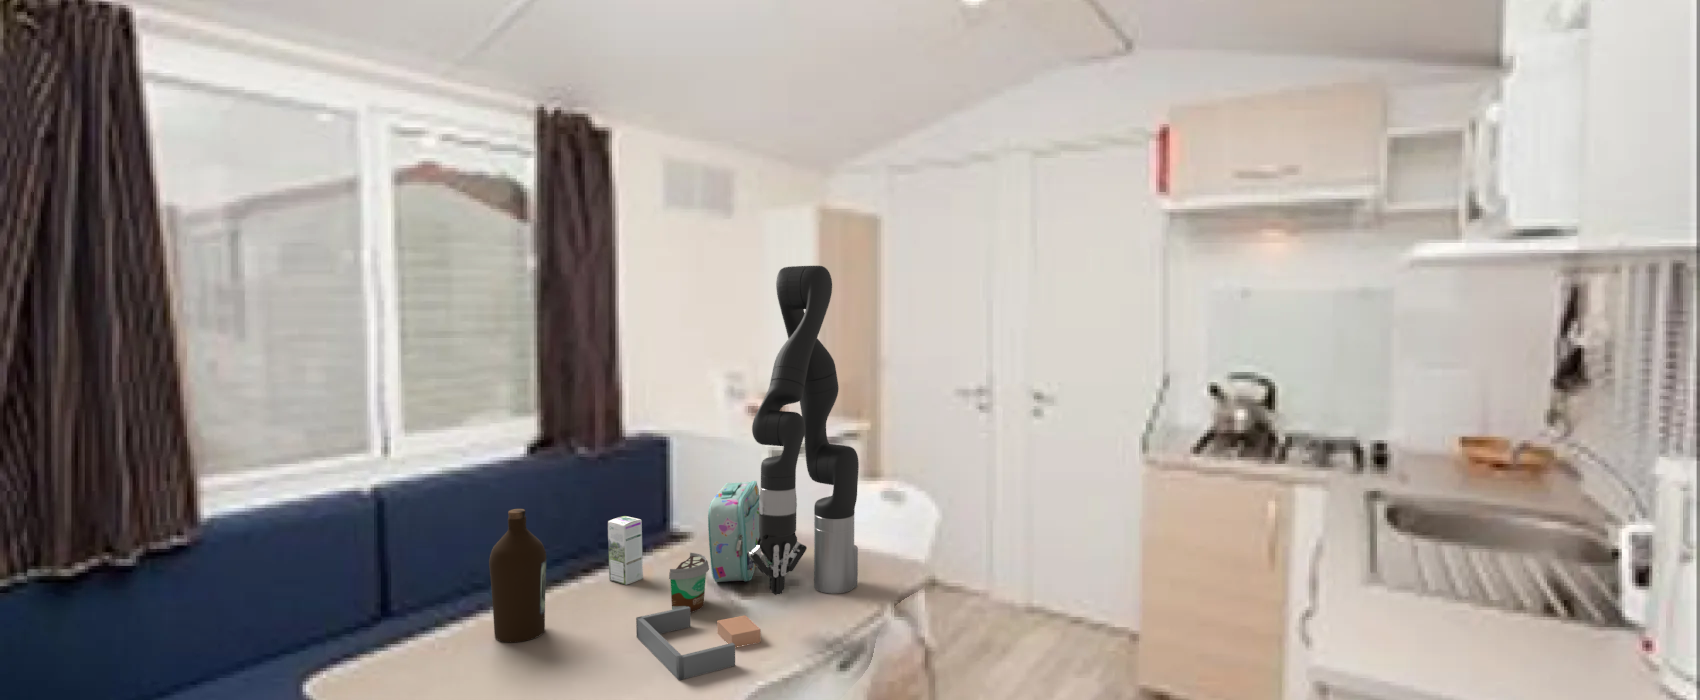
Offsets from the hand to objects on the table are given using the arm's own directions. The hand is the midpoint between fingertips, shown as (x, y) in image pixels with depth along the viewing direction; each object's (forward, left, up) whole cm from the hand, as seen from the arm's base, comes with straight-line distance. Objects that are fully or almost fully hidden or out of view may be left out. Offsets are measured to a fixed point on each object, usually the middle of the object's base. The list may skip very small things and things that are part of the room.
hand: (776, 593), depth 177 cm
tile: (+9, 0, -8) cm, 11 cm away
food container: (+10, -20, -8) cm, 23 cm away
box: (+20, 0, -7) cm, 21 cm away
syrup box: (+17, -44, -8) cm, 48 cm away
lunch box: (-8, -36, -8) cm, 38 cm away
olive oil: (+45, -25, -8) cm, 52 cm away
